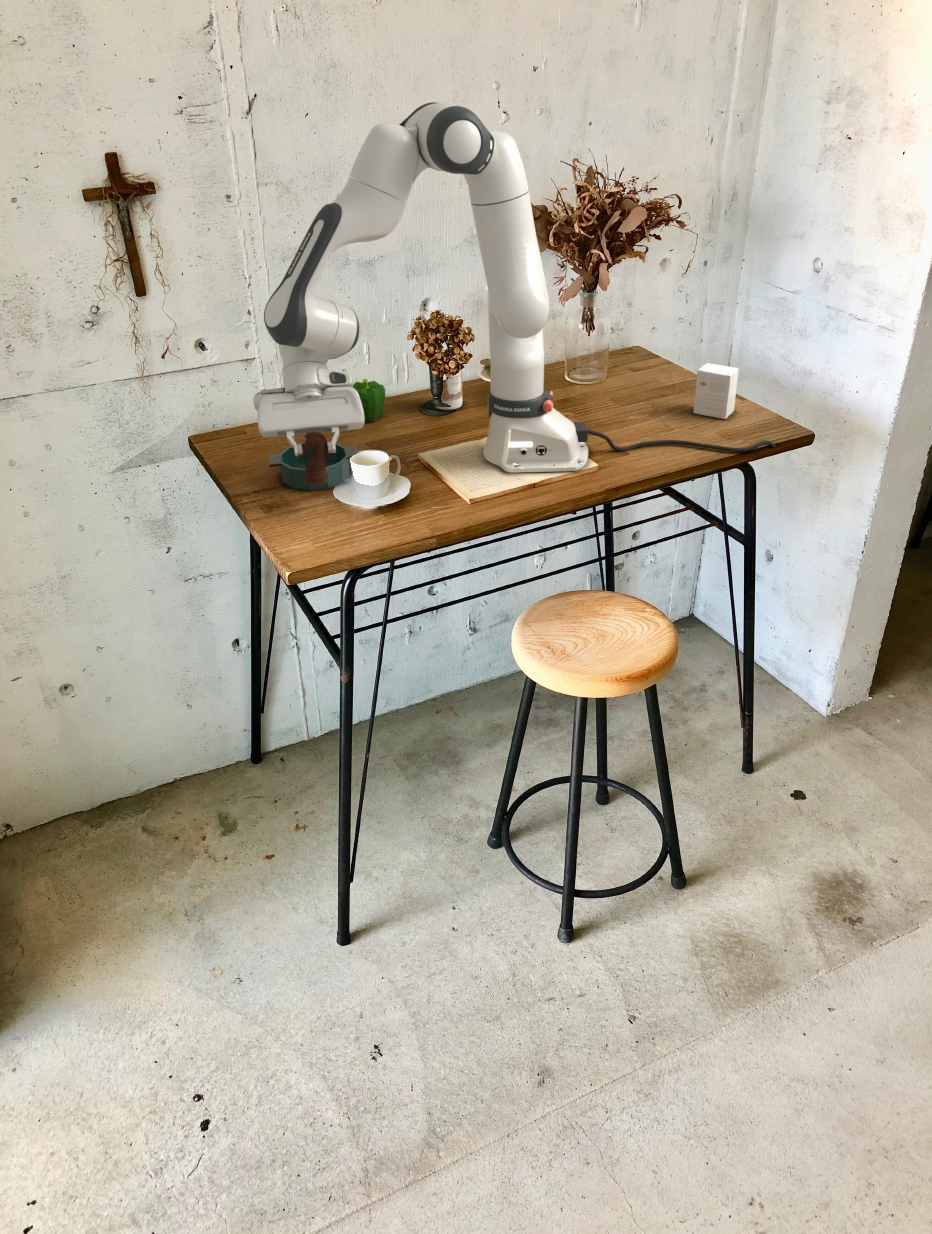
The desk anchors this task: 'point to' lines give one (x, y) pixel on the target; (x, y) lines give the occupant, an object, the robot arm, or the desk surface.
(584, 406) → the desk surface
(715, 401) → the small box
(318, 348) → the robot arm
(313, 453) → the chess piece
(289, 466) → the cooking pot
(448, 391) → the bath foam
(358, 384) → the bell pepper
